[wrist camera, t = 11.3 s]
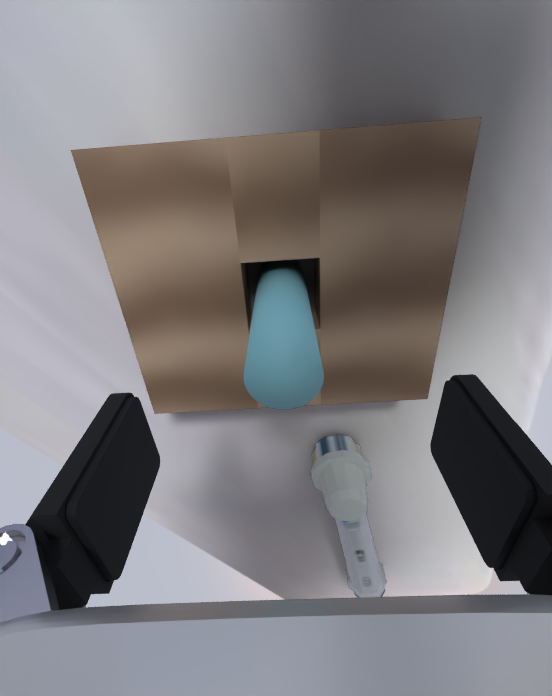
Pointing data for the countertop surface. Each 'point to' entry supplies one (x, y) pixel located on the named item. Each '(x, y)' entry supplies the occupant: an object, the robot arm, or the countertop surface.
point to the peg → (282, 340)
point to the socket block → (284, 252)
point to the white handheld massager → (349, 509)
